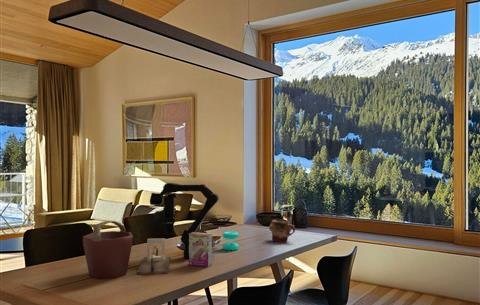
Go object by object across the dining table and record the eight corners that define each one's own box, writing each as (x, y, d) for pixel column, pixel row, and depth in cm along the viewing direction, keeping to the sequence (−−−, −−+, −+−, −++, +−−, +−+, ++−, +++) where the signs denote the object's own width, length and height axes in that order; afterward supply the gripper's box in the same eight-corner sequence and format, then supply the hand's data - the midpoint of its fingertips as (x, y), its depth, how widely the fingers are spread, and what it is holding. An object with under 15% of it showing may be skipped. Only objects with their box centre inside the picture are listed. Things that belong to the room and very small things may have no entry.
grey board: (170, 258, 240) (170, 256, 240) (167, 273, 209) (167, 271, 209) (144, 259, 239) (144, 256, 239) (137, 274, 208) (137, 271, 208)
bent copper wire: (158, 257, 238) (158, 241, 238) (153, 271, 209) (153, 253, 209) (155, 257, 238) (155, 241, 238) (150, 271, 209) (151, 253, 209)
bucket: (102, 284, 192) (103, 226, 192) (70, 276, 203) (70, 222, 204) (142, 271, 212) (143, 220, 213) (111, 265, 224) (111, 216, 224)
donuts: (221, 233, 261) (223, 231, 271) (221, 250, 261) (223, 247, 271) (237, 234, 260) (239, 231, 270) (237, 251, 260) (239, 247, 270)
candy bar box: (188, 265, 225) (188, 233, 225) (192, 263, 230) (192, 231, 230) (208, 267, 221) (208, 234, 222) (212, 265, 226) (212, 233, 226)
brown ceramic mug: (299, 241, 290) (299, 220, 290) (291, 244, 280) (291, 222, 280) (273, 238, 301) (273, 218, 301) (264, 241, 291) (264, 220, 291)
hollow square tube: (165, 258, 235) (165, 238, 235) (164, 260, 230) (164, 239, 230) (148, 258, 234) (148, 238, 234) (147, 261, 229) (147, 240, 229)
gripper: (155, 203, 252) (154, 230, 252) (153, 207, 234) (153, 236, 234) (174, 203, 254) (174, 230, 254) (174, 207, 235) (174, 236, 235)
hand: (168, 233), depth 244 cm, fingers open, 9 cm apart
